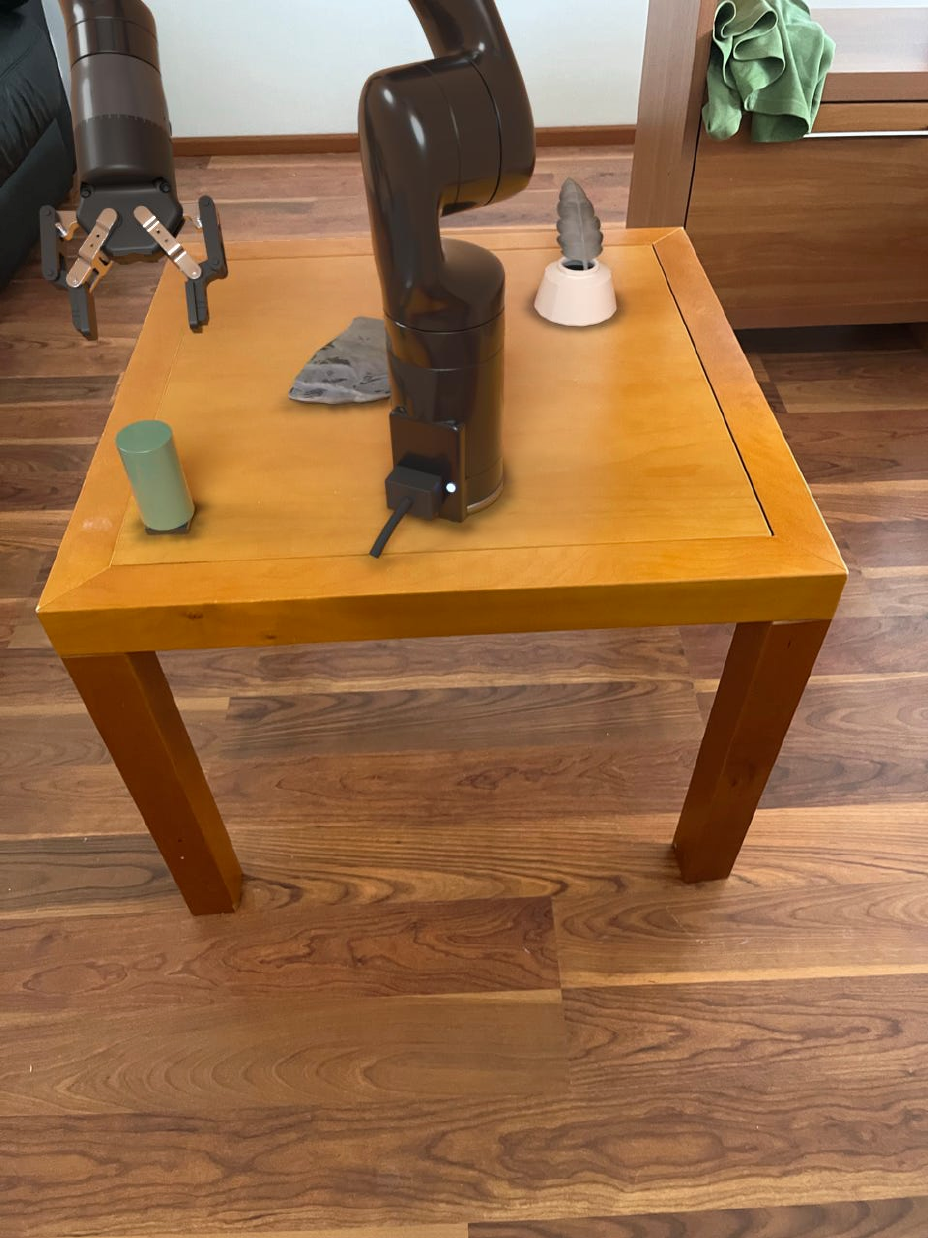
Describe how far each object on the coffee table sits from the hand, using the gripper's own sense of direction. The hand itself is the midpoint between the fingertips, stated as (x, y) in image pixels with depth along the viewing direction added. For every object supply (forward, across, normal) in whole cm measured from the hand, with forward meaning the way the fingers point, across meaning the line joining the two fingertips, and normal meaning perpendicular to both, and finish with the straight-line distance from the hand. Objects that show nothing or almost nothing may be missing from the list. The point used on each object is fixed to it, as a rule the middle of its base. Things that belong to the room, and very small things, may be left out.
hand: (143, 334), depth 76 cm
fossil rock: (+1, +21, +17) cm, 27 cm away
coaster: (+15, 0, +3) cm, 15 cm away
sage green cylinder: (+14, 0, +3) cm, 15 cm away
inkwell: (-10, +41, +28) cm, 51 cm away
